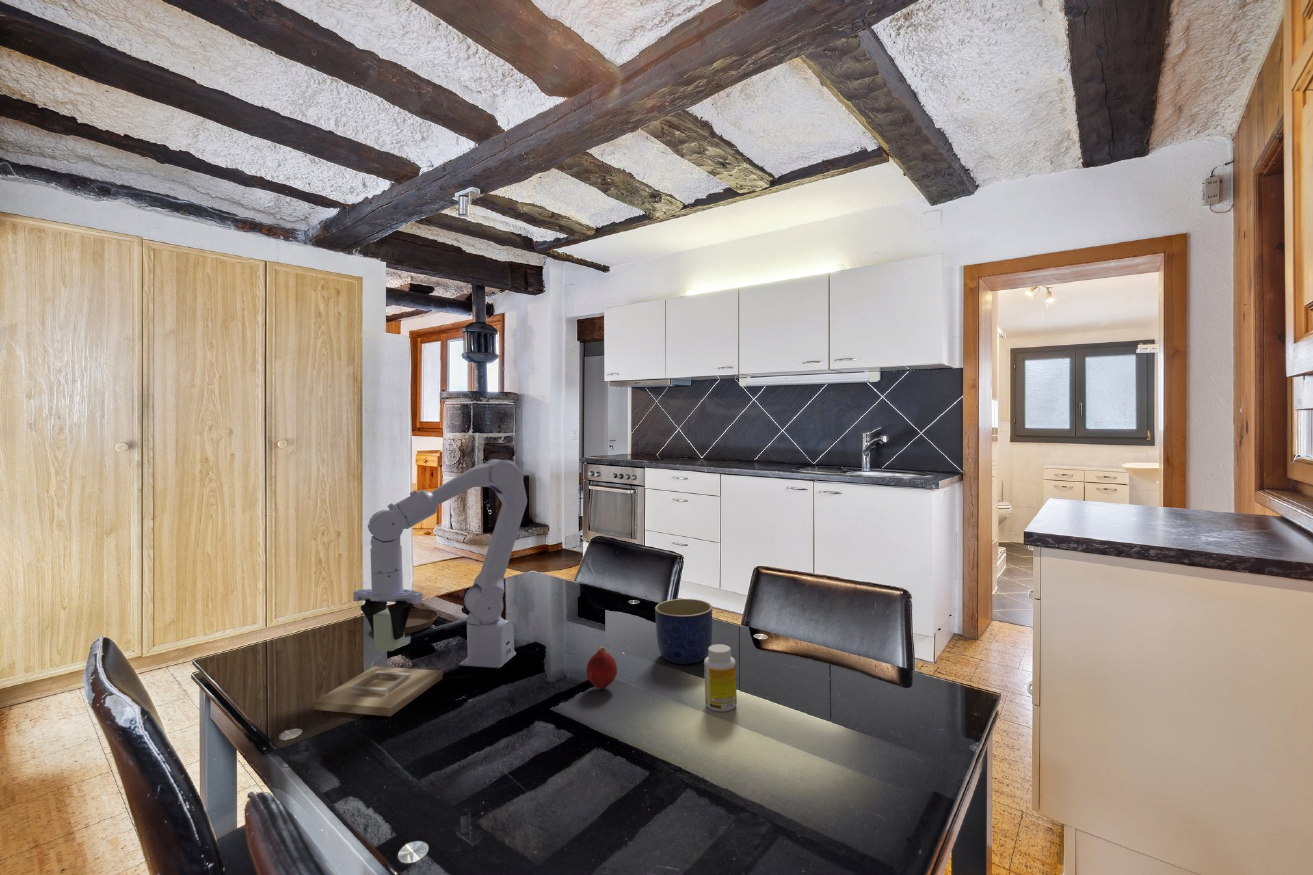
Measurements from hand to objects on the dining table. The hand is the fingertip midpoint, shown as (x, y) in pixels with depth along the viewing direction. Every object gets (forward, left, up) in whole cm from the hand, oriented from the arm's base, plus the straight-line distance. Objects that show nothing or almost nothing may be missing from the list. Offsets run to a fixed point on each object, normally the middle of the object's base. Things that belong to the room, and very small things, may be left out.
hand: (388, 637), depth 117 cm
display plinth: (-2, +5, -9) cm, 10 cm away
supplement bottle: (-67, 0, -9) cm, 68 cm away
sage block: (0, 0, -2) cm, 2 cm away
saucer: (+18, -31, -9) cm, 37 cm away
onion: (-44, -3, -9) cm, 45 cm away
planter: (-57, -21, -9) cm, 61 cm away
